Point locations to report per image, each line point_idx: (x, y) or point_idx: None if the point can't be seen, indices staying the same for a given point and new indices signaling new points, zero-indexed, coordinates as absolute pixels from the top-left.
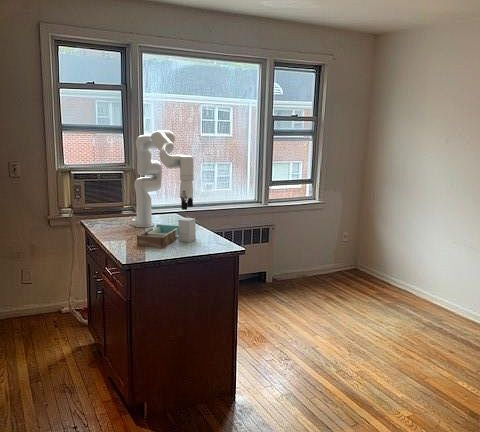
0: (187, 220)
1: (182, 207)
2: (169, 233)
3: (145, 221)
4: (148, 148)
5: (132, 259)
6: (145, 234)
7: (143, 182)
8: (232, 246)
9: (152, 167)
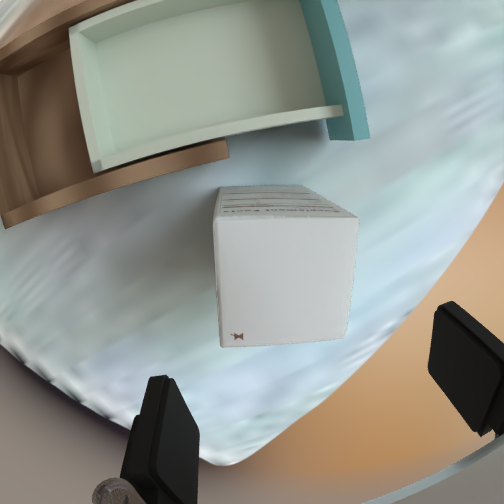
0: (225, 327)
1: (134, 419)
2: (99, 191)
3: None
4: None
5: None
6: (59, 32)
7: None
8: (258, 438)
9: None
